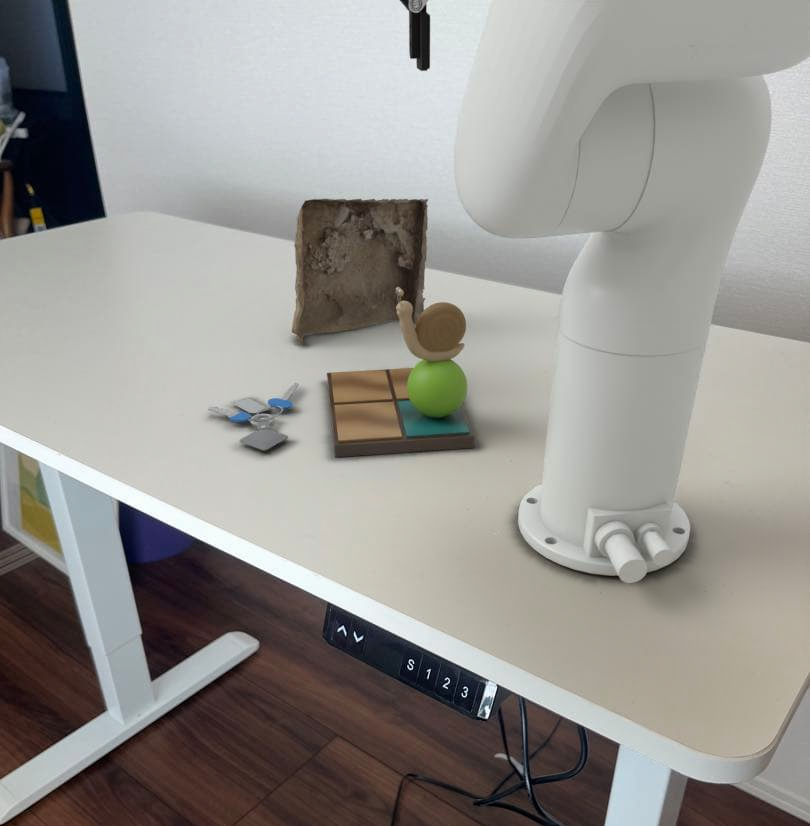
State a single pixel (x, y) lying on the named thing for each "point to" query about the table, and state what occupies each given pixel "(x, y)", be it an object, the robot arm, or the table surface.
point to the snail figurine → (434, 357)
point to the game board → (387, 416)
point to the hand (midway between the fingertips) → (479, 67)
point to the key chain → (263, 435)
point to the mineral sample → (357, 262)
